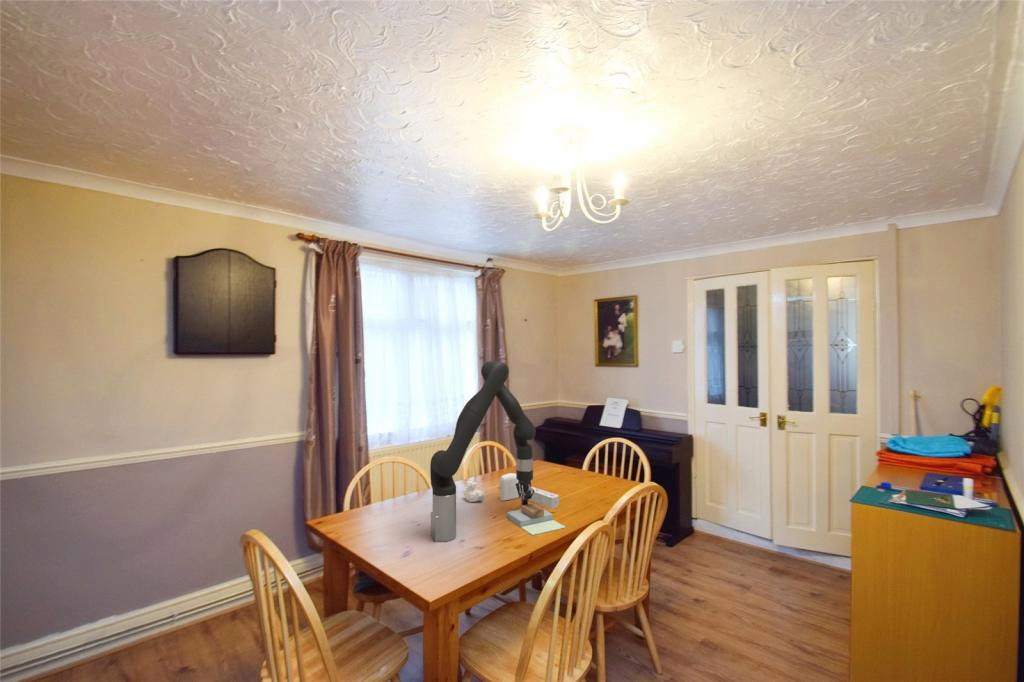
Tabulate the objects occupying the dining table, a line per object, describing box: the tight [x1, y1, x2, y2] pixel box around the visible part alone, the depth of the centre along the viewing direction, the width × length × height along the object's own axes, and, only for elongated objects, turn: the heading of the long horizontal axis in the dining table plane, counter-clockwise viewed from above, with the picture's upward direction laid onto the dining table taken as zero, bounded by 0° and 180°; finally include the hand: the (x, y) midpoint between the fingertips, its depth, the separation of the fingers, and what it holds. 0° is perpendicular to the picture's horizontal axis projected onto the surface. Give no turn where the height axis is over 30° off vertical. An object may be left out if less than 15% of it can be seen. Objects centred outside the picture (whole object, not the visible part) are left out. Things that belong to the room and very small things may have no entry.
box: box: [519, 486, 560, 509], centre depth 215 cm, size 27×5×6 cm, turn 43°
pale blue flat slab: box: [506, 505, 554, 528], centre depth 191 cm, size 16×12×2 cm
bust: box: [462, 480, 485, 503], centre depth 214 cm, size 12×8×11 cm
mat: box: [520, 519, 566, 536], centre depth 181 cm, size 16×9×1 cm, turn 119°
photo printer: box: [499, 472, 520, 502], centre depth 218 cm, size 10×4×12 cm, turn 123°
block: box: [520, 502, 545, 519], centre depth 189 cm, size 6×9×3 cm, turn 29°
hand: (524, 507), depth 194 cm, fingers closed
